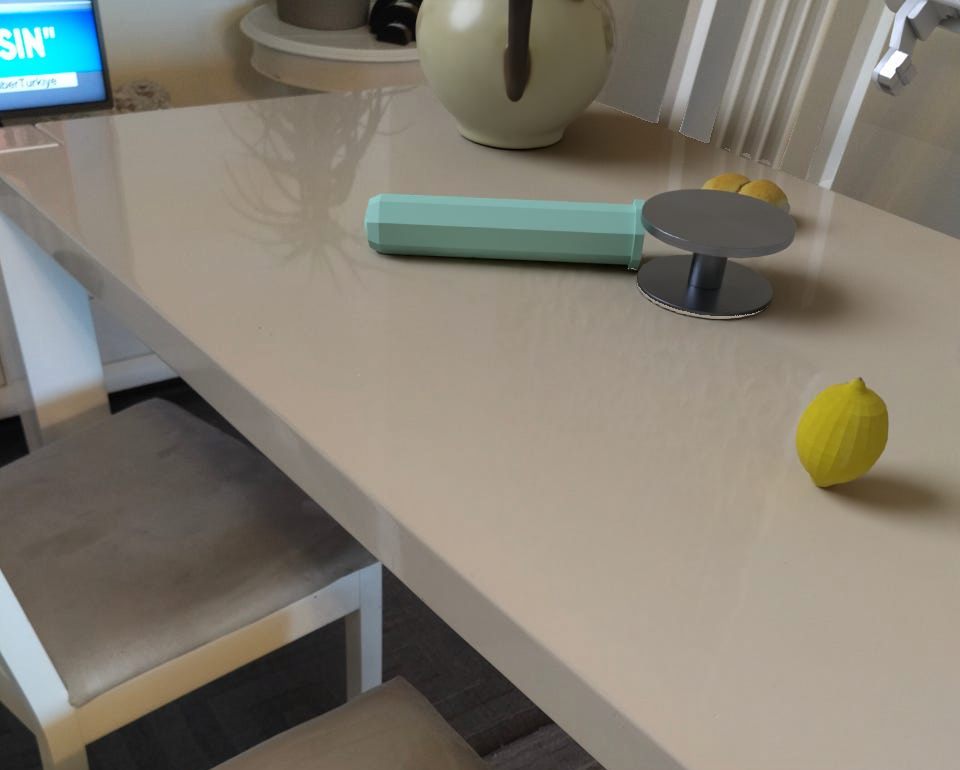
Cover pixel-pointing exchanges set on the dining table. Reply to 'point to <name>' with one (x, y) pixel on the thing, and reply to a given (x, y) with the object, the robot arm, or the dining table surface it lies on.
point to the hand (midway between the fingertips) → (944, 112)
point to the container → (506, 228)
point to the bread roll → (750, 188)
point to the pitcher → (516, 64)
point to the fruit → (842, 433)
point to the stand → (712, 250)
